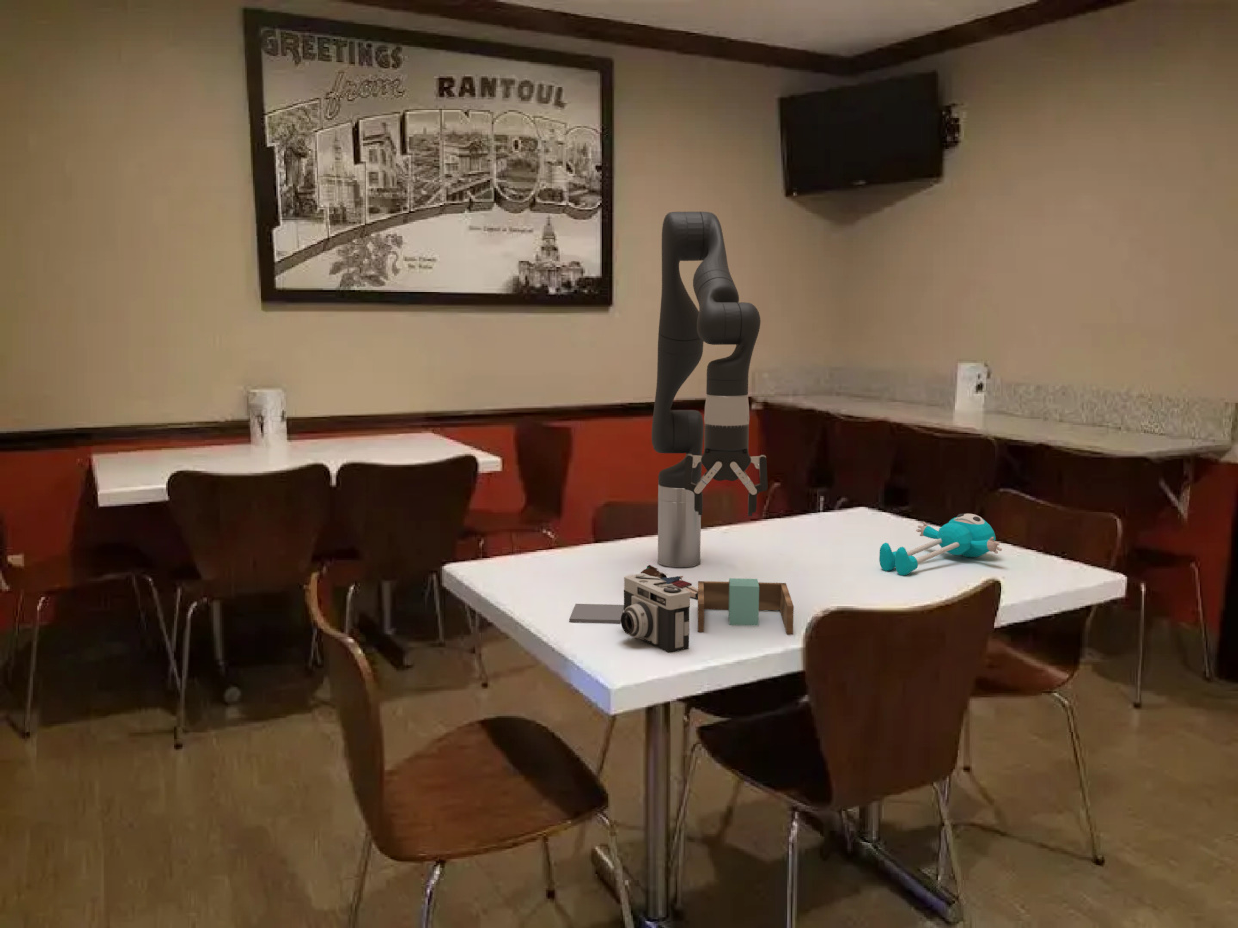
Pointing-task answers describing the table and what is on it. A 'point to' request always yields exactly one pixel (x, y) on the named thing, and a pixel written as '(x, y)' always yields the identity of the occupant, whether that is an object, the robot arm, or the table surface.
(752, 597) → the block
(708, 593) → the bay
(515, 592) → the table surface
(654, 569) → the toy
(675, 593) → the camera
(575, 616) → the mat
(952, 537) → the toy
